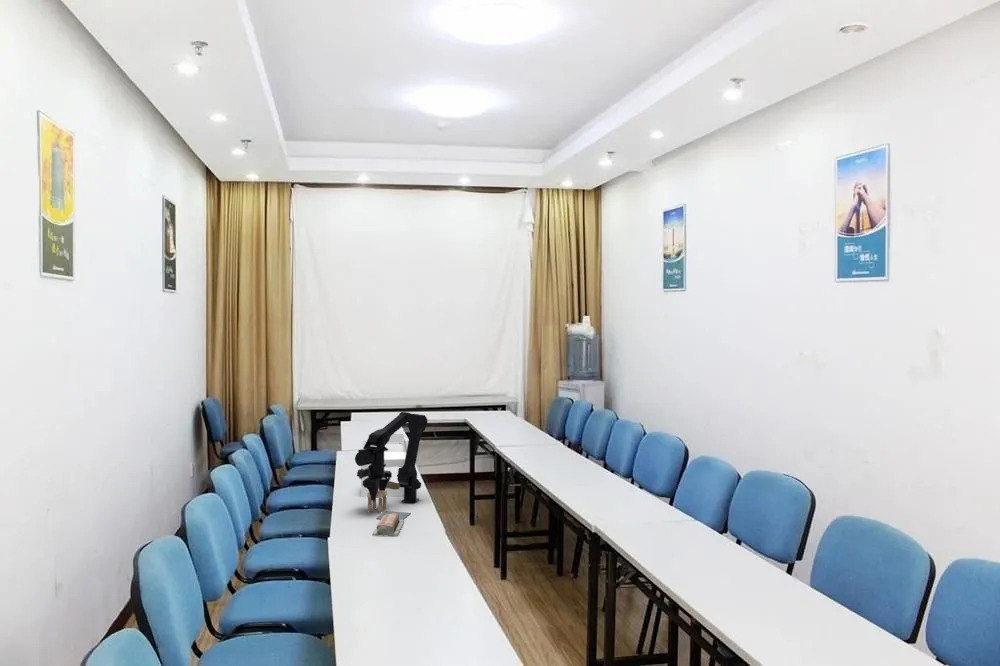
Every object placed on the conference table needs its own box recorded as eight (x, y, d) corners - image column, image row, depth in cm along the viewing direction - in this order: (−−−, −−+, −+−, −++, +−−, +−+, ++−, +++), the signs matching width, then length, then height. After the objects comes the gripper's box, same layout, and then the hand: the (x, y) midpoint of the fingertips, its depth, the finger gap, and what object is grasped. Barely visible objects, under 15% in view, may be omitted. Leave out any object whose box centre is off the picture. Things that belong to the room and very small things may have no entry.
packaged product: (398, 525, 281) (372, 524, 281) (398, 537, 281) (372, 537, 281) (404, 511, 299) (380, 511, 299) (404, 523, 299) (380, 523, 299)
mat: (386, 512, 314) (386, 510, 314) (410, 513, 311) (410, 512, 311) (376, 519, 303) (376, 518, 303) (401, 521, 301) (401, 520, 301)
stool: (373, 508, 319) (373, 490, 319) (387, 509, 318) (387, 490, 318) (367, 512, 313) (367, 493, 313) (381, 513, 312) (381, 494, 312)
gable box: (410, 489, 353) (410, 431, 352) (408, 496, 340) (409, 436, 339) (363, 489, 351) (363, 431, 350) (360, 497, 338) (360, 436, 337)
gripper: (368, 456, 326) (368, 491, 326) (351, 465, 308) (350, 502, 308) (392, 458, 323) (392, 493, 324) (376, 467, 305) (375, 504, 306)
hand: (377, 498), depth 315 cm, fingers open, 9 cm apart
